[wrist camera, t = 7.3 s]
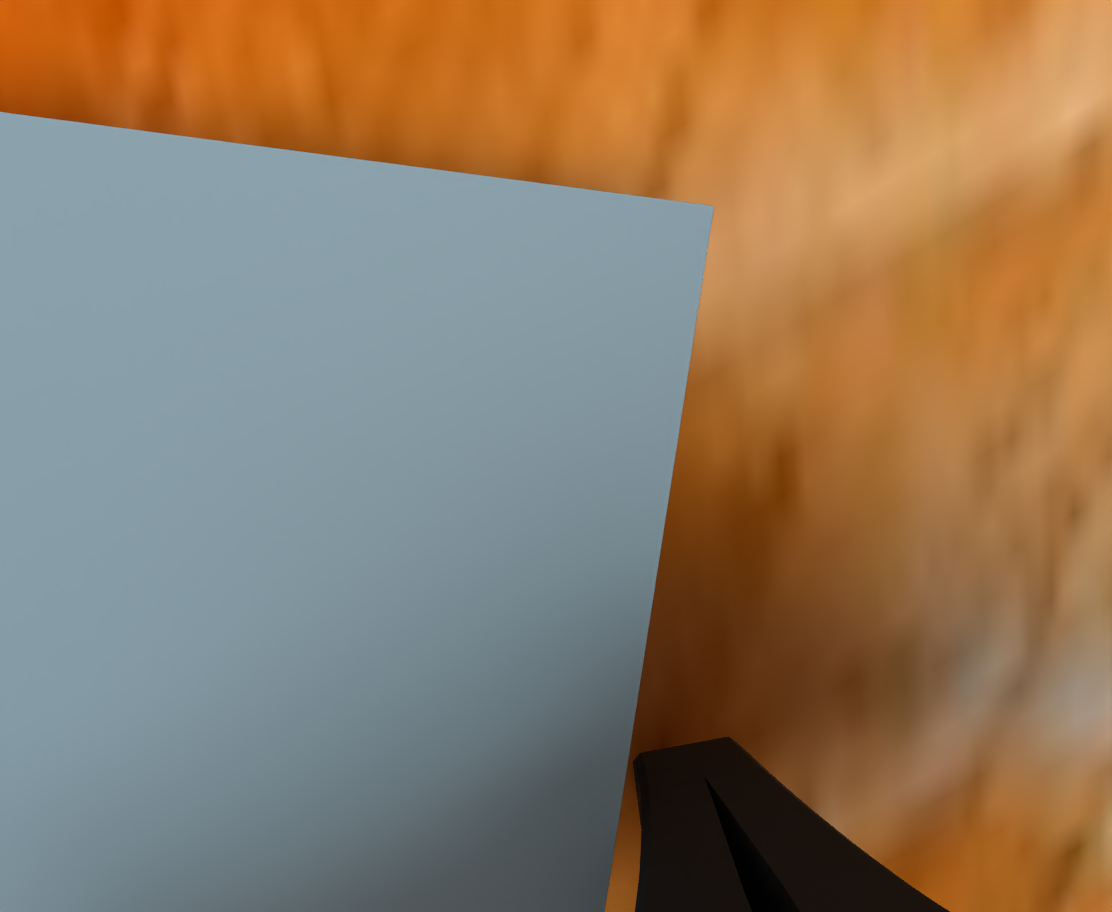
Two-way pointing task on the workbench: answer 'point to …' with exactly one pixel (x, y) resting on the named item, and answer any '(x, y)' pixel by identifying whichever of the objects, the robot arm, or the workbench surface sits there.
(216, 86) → the workbench surface
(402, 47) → the workbench surface
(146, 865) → the book box
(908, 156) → the workbench surface
